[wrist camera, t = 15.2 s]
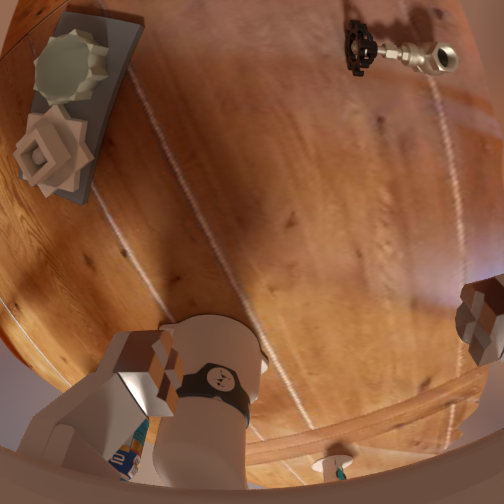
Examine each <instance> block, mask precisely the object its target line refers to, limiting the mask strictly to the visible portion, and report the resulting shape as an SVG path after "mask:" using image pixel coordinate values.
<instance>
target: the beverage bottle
mask: <svg viewBox="0 0 504 504" xmlns="http://www.w3.org/2000/svg"><path fill="white" fill-rule="evenodd" d="M148 427H149V420H148V418H147V417H146V419H145V420H144V421H143V422H142V423H141V425H140V426H139V427H138V428H137V429H136V430H135V431H134V433H133V434H132V435H131V436H130V437H129V438H128V439H127V440H126V442H125V443H124V444H123V445H122V446H121V447H120V448H119V449H118V451H117V452H116V453H115V454H114V455H113V456H112V457H111V458H110V459H109V461H108V462H109V463H110V464H111V465H112V466H113V467H114V468H115V469H116V470H118V471H119V473H120V475H121V478H120V480H121V481H127V482H129V481H128V480H130V479H131V478H132V477H133V476H134V475H135V474H136V473H137V471H138V468H137V465H138V464H139V463H140V461H141V454H142V450H143V446H144V442H145V438H146V434H147V430H148Z"/></svg>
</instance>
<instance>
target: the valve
mask: <svg viewBox="0 0 504 504" xmlns="http://www.w3.org/2000/svg"><path fill="white" fill-rule="evenodd" d="M349 27H350V29H351V30H346V32H345V36H346V38H347V39H348V46H346V47H345V54H346V55H349V61H348V63H347V67H348V70H352V73H353V76H360V77H363V75H364V71H360V68H369V65H370V64H372V63H373V61H374V58H376V56H377V54H381V55H382V57H383V58H386V59H397V57H398V59H399V60H401V62H402V64H403V65H404V66H408V67H412V69H413V71H414V72H419V73H424V74H428V75H431V76H439V75H442V74H444V73H454V72H455V70H456V69H457V67H458V65H459V62H460V60H459V57H458V55H457V52H456V51H455V49H454V47H453V46H452V45H450V44H447V43H443V42H425V43H422V44H421V45H419V46H416V45H415V44H414V43H410V42H403V43H402V45H401V46H399V47H398V48H397V47H396V45H393V44H386V43H385V44H382V46H377V43H376V42H375V41H373V36H372V35H371V34H370V33H369V32H368V31H367V26H366V24H363V23H360V21H357V20H350V22H349ZM363 35H365V36H367V39H364V36H363ZM355 37H357V40H355ZM355 55H357V59H356V57H355ZM365 57H369V59H364V58H365Z"/></svg>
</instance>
